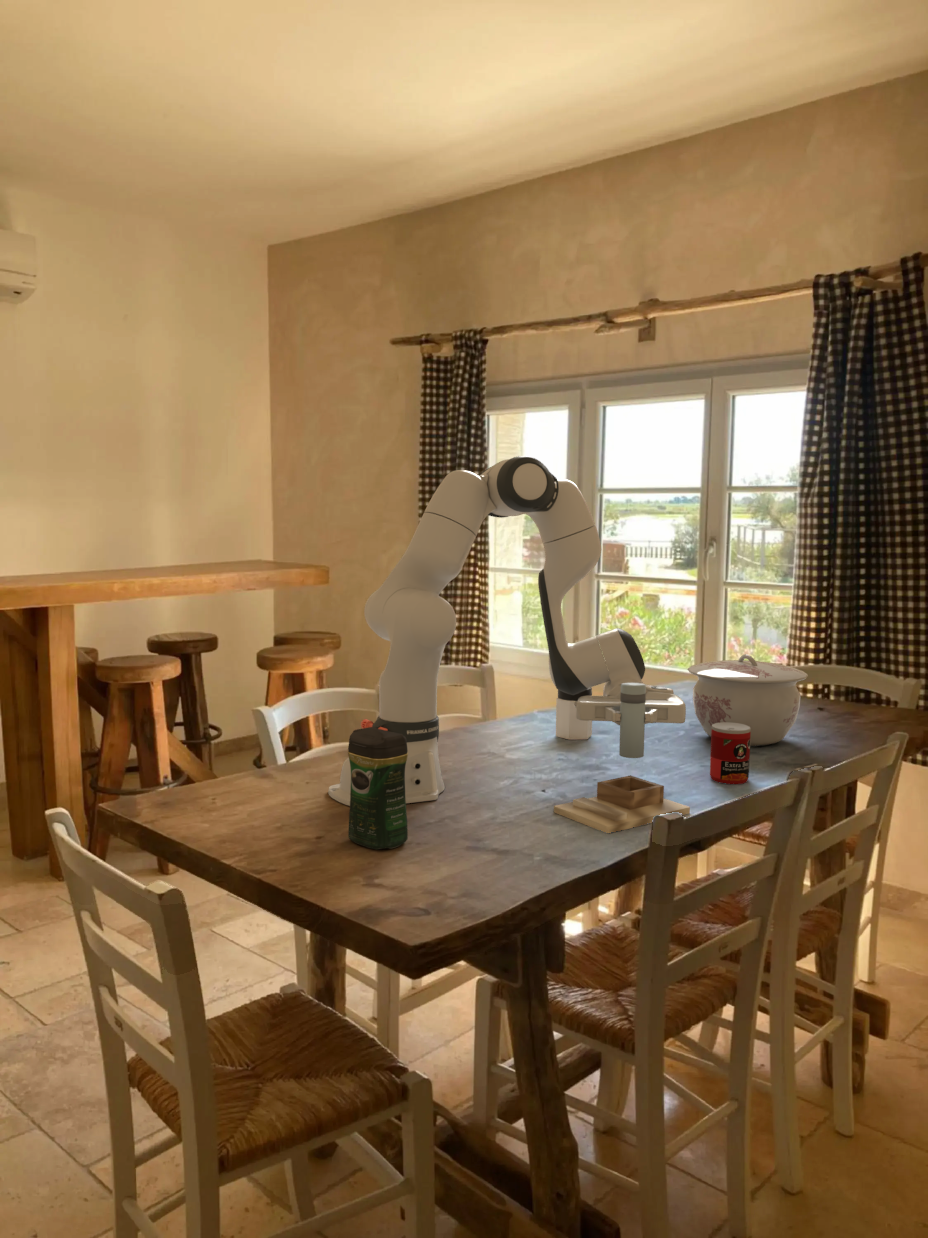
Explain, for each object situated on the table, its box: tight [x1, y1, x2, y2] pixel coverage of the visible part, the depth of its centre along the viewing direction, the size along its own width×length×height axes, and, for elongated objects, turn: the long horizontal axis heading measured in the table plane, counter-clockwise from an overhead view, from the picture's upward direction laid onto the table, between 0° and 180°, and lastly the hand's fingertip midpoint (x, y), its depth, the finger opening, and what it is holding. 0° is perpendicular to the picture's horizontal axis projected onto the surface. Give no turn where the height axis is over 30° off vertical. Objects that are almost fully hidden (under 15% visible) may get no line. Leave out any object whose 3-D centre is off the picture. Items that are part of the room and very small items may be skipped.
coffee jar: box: [347, 727, 409, 850], centre depth 156 cm, size 10×8×19 cm
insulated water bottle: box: [618, 683, 646, 759], centre depth 176 cm, size 4×4×13 cm
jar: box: [555, 687, 593, 741], centre depth 233 cm, size 9×8×12 cm
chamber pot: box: [687, 653, 809, 747], centre depth 230 cm, size 28×28×21 cm
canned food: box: [709, 722, 751, 785], centre depth 196 cm, size 8×8×11 cm
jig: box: [553, 775, 691, 834], centre depth 173 cm, size 20×14×4 cm
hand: (632, 718), depth 175 cm, fingers closed on insulated water bottle, 4 cm apart
